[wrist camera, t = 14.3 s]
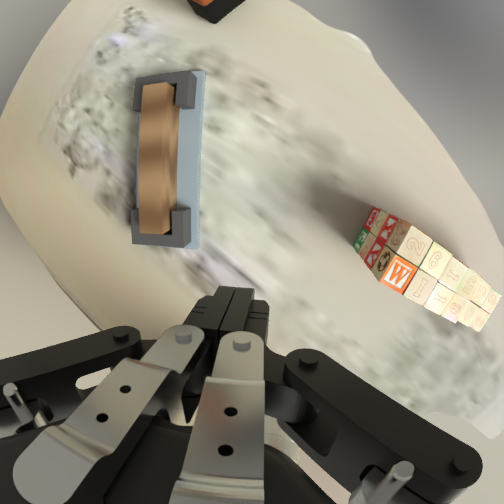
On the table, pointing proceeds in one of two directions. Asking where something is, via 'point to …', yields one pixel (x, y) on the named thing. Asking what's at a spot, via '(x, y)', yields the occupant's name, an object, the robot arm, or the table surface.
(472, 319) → the stack of blocks
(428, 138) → the table surface
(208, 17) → the battery
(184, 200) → the cap board
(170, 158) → the slat
